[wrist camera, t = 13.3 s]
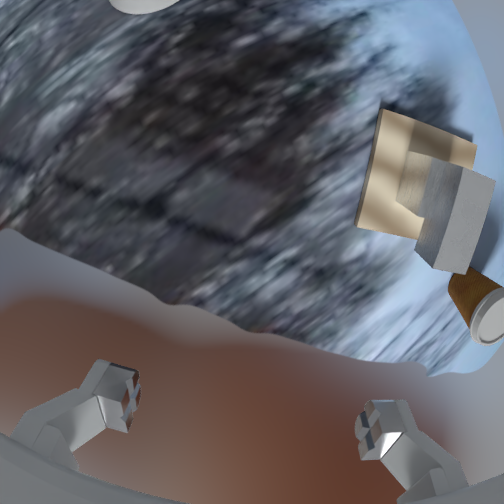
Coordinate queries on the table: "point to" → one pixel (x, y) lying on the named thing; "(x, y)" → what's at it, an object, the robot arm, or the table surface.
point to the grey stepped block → (445, 209)
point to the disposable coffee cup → (479, 305)
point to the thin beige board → (391, 168)
